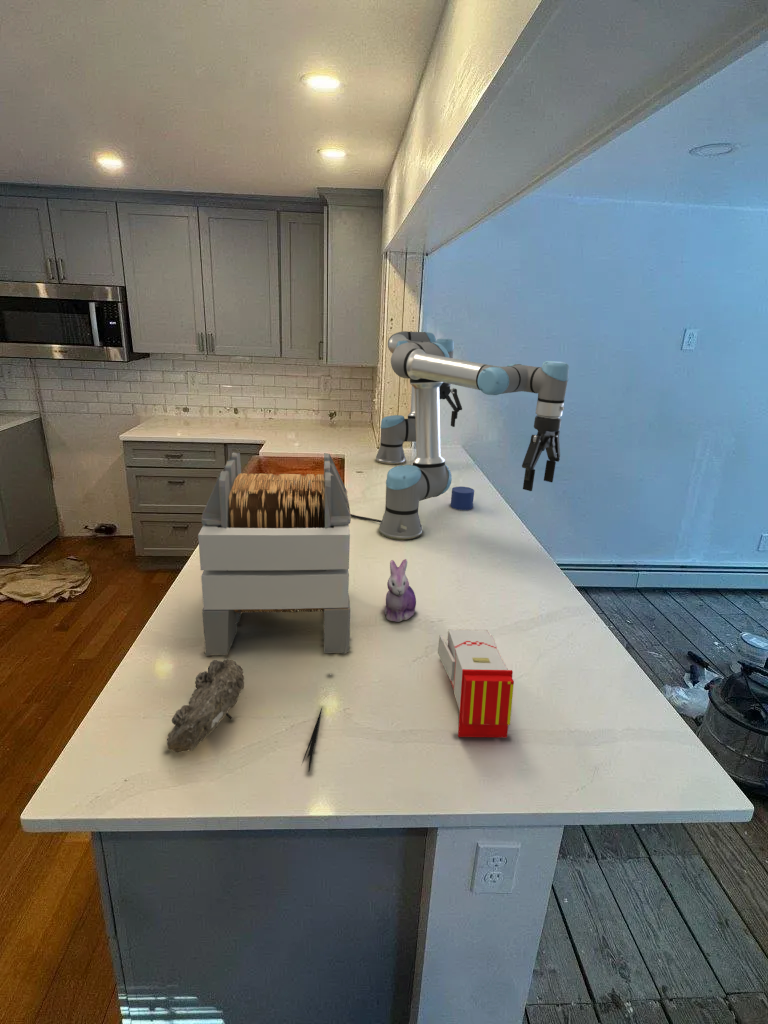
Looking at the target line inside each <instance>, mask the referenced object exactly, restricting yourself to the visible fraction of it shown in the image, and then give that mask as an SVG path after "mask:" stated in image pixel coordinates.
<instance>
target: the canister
mask: <svg viewBox="0 0 768 1024" xmlns="http://www.w3.org/2000/svg"><path fill="white" fill-rule="evenodd" d="M474 498H475V489H473V488H472V487H468V486H453V487H452V488H451V495H450V507H451V508H452V509H454V510H458V511H470V510H472V509H473V507H474Z"/></svg>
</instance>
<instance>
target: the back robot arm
mask: <svg viewBox="0 0 768 1024" xmlns="http://www.w3.org/2000/svg"><path fill="white" fill-rule="evenodd" d="M409 342H412V343H417V342H433V343H439V344H441V345H442V346H443V347H444V348H445V349H446V350H447V352H448V354H449V358H453V359H454V350H455V341H454V340H453V339H452V338H436V336H435V334H434V333H433V332H430V331H429V332H428V331H404V330H403V331H398V332H396V333H394V334H392V335H390V336H389V338H388V340H387V348H388V350H389V352H390V353H393V351H394V350H395V349H396V348H397V347H398V346H399V345H401V344H404V343H409ZM451 386H452V384H448V383H444V382H443V383H442V384H441V386H440V387H439V400H446V401H447V403H448V404H449V405H450V407H451V409H452V411H451V416H450V426H451V427H452V428H455V427H456V420H457V419H458V414H459V412H460V411H462V410H463V407H462V403H461V401H460V398H459V394H458V389H457V388H455V387H452V388H451ZM450 394H452V398H453V400H454V401H453V400H452V398H451V396H450ZM410 395H411V398H410V412H409V413H408V414H407V418H405V416H404V415H401V414H400V415H398V414H393V415H387V416H384V417H383V418H381V421H380V438H379V439H380V440H379V448H378V451H377V453H376V455H375V461H376V463H379V464H381V465H387V466H399V465H402V464H405V463H406V459H407V457H406V455H405V452H404V451H405V450H404V446H403V445H404V443H405V442H406V443H416V419H415V389H414V387H413V386H412V385H411V394H410Z"/></svg>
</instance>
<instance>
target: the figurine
mask: <svg viewBox="0 0 768 1024" xmlns="http://www.w3.org/2000/svg"><path fill="white" fill-rule="evenodd" d="M407 567H408V559H406V558H404V559H403V560H402V561H401V563H400V565H399V566H398V565H397V563H396V562H395V561H394V560H393V559H391V560H390V561H389V570H390V576H389V578H388V579H387V589H388V591H387V592H386V594H385V595H386V596H385V607H384V615H385V616H386V620H387V621H391V622H395V623H400V622H402V621H406V620H409V619H410V618H411V617H413V616H414V615H415V610H416V606H417V597H416V593H415V591H414V590H413V587H411V586H410V582H409V579H408V577H407V574H406V571H407Z"/></svg>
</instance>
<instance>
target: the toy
mask: <svg viewBox="0 0 768 1024" xmlns="http://www.w3.org/2000/svg"><path fill="white" fill-rule="evenodd" d="M446 640H447V643H446V641H445V639H444V636H443V635H442V634H439V637H438V646H437V656H438V657H439V659H440V661H441V663H442V666H443V668H444V670H445V672H446V674H447V677H448V679H449V681H450V684H451V687H452V690H453V693H454V697H455V701H456V705H457V708H458V711H459V714H458V715H459V716H458V730H457V731H458V732H457V737H458V738H508V731H509V726H510V725H511V717H512V707H513V697H514V696H513V695H514V684H515V680H514V679H513V673H514V671H513V670H512V669H508V667H507V665H506V662H505V661H504V659H503V658H502V655H501V653H500V651H499V649H498V647H497V643H496V639H495V637H494V635H493V634H491V632H490V631H489V629H467V628H466V629H465V628H463V629H461V628H460V629H459V628H448V630H447V639H446Z"/></svg>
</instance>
